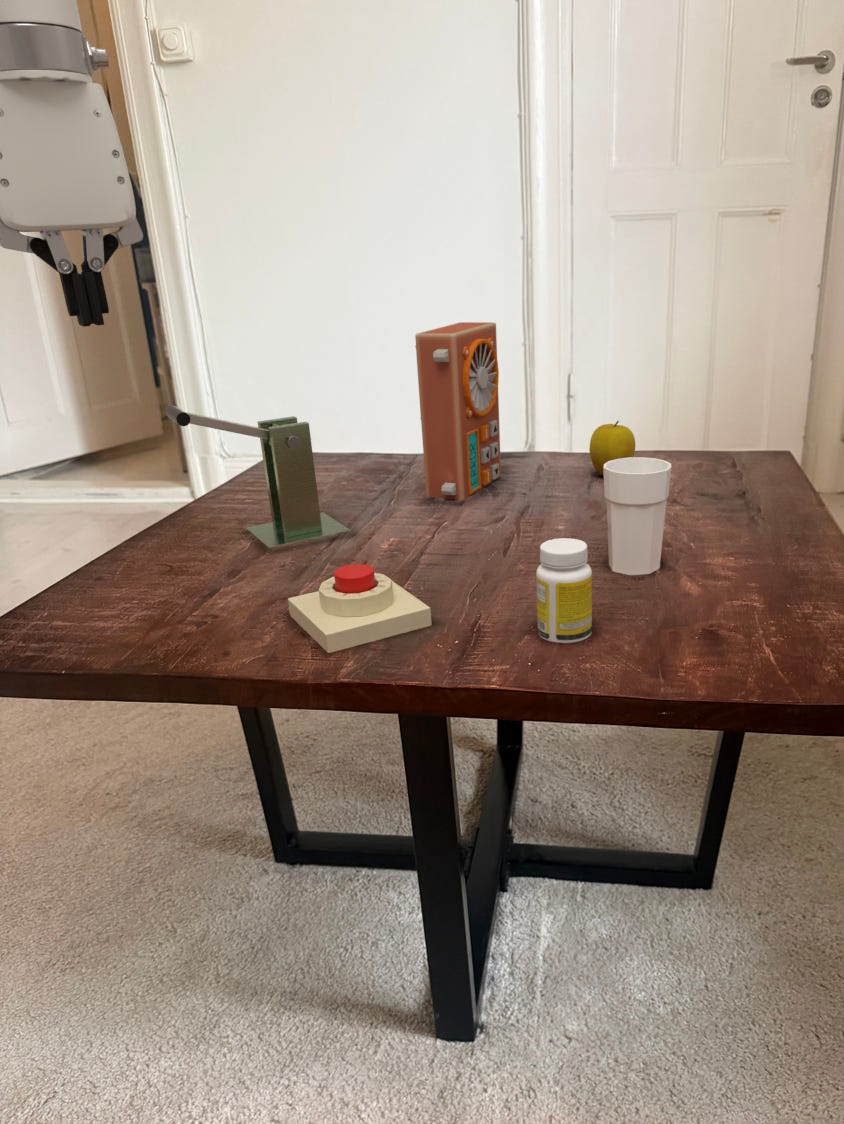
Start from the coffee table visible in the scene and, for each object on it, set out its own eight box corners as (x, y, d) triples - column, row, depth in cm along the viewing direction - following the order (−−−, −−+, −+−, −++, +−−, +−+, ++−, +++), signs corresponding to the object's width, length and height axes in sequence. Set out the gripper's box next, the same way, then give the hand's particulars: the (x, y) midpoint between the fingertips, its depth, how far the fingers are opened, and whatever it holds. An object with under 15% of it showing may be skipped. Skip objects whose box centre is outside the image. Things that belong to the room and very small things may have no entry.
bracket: (270, 557, 101) (251, 435, 95) (246, 536, 108) (228, 422, 102) (352, 539, 105) (339, 422, 100) (324, 521, 113) (310, 410, 107)
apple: (625, 483, 122) (627, 424, 119) (582, 479, 125) (582, 422, 122) (640, 471, 127) (642, 415, 124) (598, 468, 130) (598, 413, 127)
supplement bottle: (600, 630, 79) (602, 540, 76) (576, 651, 76) (576, 558, 72) (553, 621, 82) (552, 533, 78) (527, 640, 78) (525, 549, 75)
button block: (329, 658, 77) (323, 615, 75) (290, 619, 85) (284, 580, 83) (432, 629, 81) (429, 589, 79) (386, 595, 89) (382, 558, 87)
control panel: (510, 481, 126) (463, 512, 113) (465, 478, 128) (415, 507, 116) (505, 321, 117) (454, 335, 104) (457, 321, 119) (402, 334, 107)
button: (345, 599, 79) (342, 581, 78) (330, 587, 82) (327, 569, 81) (382, 590, 81) (380, 572, 80) (366, 578, 84) (364, 561, 83)
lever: (174, 429, 93) (178, 406, 92) (164, 422, 97) (167, 399, 96) (302, 454, 101) (306, 433, 100) (287, 446, 105) (291, 426, 104)
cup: (589, 566, 94) (590, 463, 89) (641, 555, 96) (645, 454, 92) (625, 586, 88) (628, 477, 84) (679, 573, 91) (685, 467, 86)
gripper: (129, 74, 72) (172, 314, 80) (-81, 68, 66) (-12, 330, 74) (148, 58, 66) (193, 319, 74) (-80, 50, 60) (-5, 337, 68)
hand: (91, 324), depth 74 cm, fingers closed
